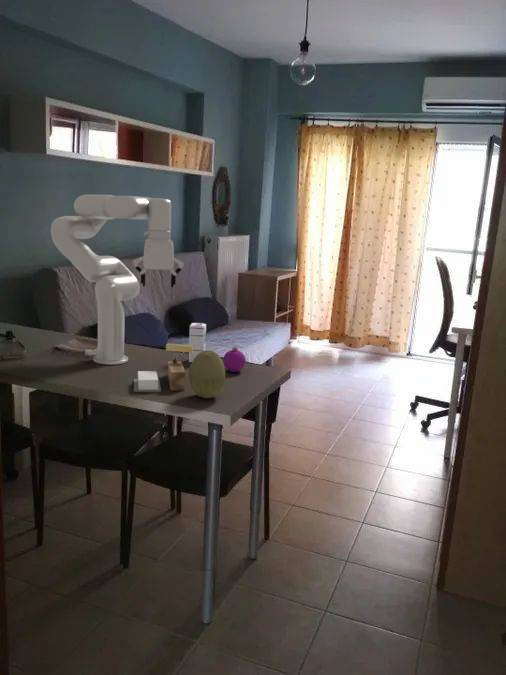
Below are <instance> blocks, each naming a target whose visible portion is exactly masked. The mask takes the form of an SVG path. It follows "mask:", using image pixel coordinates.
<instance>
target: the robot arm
mask: <svg viewBox="0 0 506 675" xmlns="http://www.w3.org/2000/svg"><path fill="white" fill-rule="evenodd" d="M73 208H74V209H73V210H74V211H75V213H76V214H77V215H64V216H60V217H57V218H55V219H54V220H53V221H52V223H51V224H50V225H51V226H50V235H51V239H52V242H53V244H54V245H55V247H56V249H57V250H58V251H59V252H60V253H61V254H62V255H63V256H64V257H65V258H66V259H67V260H69V262H71V264H72V265H73V266H74V267H75V268H76V269H77V270H78V272H79V273H81V275H82V276H83V277H84V278H85V280H87V281H88V282H91V283H96V284H95V286H94V293H95V294H94V295H95V298H96V305H97V347H96V348H94V349H85V350H84V351H85V352H84V353H85V354H84V355H87V356H89V357H90V356H93V359H92V360H93V362H94V363H96V364H101V365H108V366H109V365H122V364H125V363H127V362H128V361H129V357H128V356H127V355H125V320H126V319H125V318H126V317H125V311H124V307H123V305H122V302H123V301H129V300H132V299H135V298H136V297H138V296H139V294H140V290H141V287H140V284H142V287H145V286H146V274H145V273H146V272H147V271H148V270H152V271H170V273H171V276H170V287H171V288H174V285H176V282H177V280H176V279H177V278H176V277H177V275H178V274H179V273H180V272H181V271H182V269H183V268H184V265H185V262H183V261H181V260H180V259H178V258H176V257H175V250H174V249H175V247H174V242H173V240H171V235H172V234H171V233H172V231H171V230H172V202H171V200H170V199H167V198H158V197H153V198H152V197H149V196H136V195H113V194H82V195H80V196H78V197H76V199H75V200H74V203H73ZM115 219H121V220H123V219H124V220H146V221H147V220H148V221H147V222H148V223H147V224H148V226H147V230H146V231H143V236H146V237H147V239H145V241H144V242H145V243H144V247H143V255H142V256H141V257H138V258H136V259H133V260H132V264H133V266H134V267H135V269H136V271H137V272H138V273H139V274H140V282H139V280H138V279H137V277H136V276H135V275H134V273H132V272H131V271H130V269H129V268H127V266H126V265H125V264H124V263H123V262H122V261H121V260H120V259H119V258H117V257H116V256H112V255H98V254H96V253H95V252H94V251H93V250H92V248H90V247H89V245H87V244H85V243H84V242H82V241H81V240H86V239H91V238H93V237H95V236H96V234H97V233H99V232H100V230H101V229H102V227H103V226H104V225H105V224H106V222H107V221H108V220H111V221H112V220H115ZM142 261H143V263H142V264H143V267H140V266H139V263H140V262H142ZM175 263H176V264H178V267H177V268H176V269H174V267H175ZM121 301H122V302H121Z"/></svg>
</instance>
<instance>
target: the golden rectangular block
mask: <svg viewBox="0 0 506 675" xmlns="http://www.w3.org/2000/svg"><path fill="white" fill-rule="evenodd" d="M165 346H166V347H165V351H169V352H172V361H173V363H177V361H178V352H181V353H188V354H189V353H192V352H193V346H191V345H189V344H179V343H170V342H169V343H166V344H165Z"/></svg>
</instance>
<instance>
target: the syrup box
mask: <svg viewBox="0 0 506 675" xmlns="http://www.w3.org/2000/svg"><path fill="white" fill-rule="evenodd" d="M188 337H189V340H188V343H189V344H188V345H191V346H193V352H192V353H189V352H188V363H190V362H192V361H193V360H194V358H195V357H196V356H197V355H198V354H199V353H200V352H202V351H206V344H207V343H206V341H207V323H203V322H191V324H190V325H189V336H188Z"/></svg>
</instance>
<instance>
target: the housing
mask: <svg viewBox="0 0 506 675" xmlns="http://www.w3.org/2000/svg"><path fill="white" fill-rule="evenodd" d="M167 379H168V384H169V389H171V390H170V391H185V385H186V384H185V383H186V382H185V381H186V371H185V367H184V365H183V363H182V361H181V360H180V361H178V360H177V363H173V360H170V361H167Z"/></svg>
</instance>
